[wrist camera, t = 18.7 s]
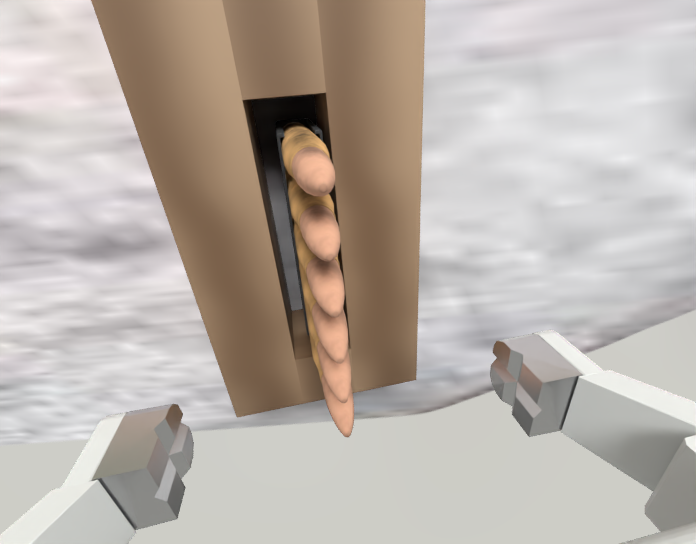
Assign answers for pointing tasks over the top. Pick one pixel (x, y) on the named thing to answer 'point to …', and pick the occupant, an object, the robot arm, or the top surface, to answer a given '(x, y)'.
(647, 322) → the top surface
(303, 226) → the ammunition clip
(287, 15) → the slotted wooden block
